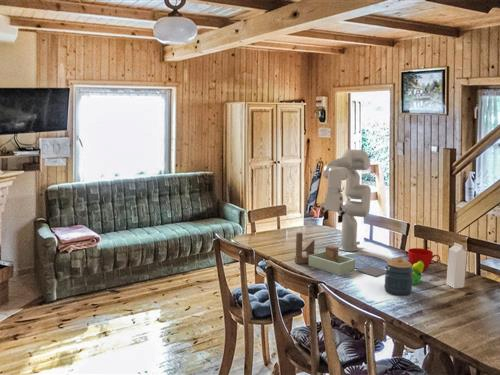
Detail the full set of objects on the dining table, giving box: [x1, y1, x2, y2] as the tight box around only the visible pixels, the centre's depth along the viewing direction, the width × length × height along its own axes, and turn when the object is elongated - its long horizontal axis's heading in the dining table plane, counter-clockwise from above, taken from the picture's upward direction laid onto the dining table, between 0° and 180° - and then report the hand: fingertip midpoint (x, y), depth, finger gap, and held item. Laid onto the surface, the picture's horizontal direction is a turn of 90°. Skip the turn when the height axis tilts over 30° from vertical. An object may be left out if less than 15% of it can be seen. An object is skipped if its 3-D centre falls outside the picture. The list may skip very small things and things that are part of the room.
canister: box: [383, 255, 413, 297], centre depth 222 cm, size 13×13×18 cm
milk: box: [445, 242, 468, 289], centre depth 230 cm, size 6×6×22 cm
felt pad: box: [355, 264, 386, 278], centre depth 253 cm, size 13×13×1 cm
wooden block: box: [294, 231, 315, 265], centre depth 266 cm, size 4×11×18 cm, turn 104°
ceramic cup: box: [407, 247, 441, 271], centre depth 257 cm, size 13×17×10 cm
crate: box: [307, 250, 356, 276], centre depth 258 cm, size 14×22×6 cm, turn 42°
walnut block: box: [325, 244, 339, 263], centre depth 258 cm, size 5×5×12 cm
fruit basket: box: [411, 261, 424, 285], centre depth 237 cm, size 11×9×11 cm
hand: (333, 220), depth 255 cm, fingers open, 9 cm apart
